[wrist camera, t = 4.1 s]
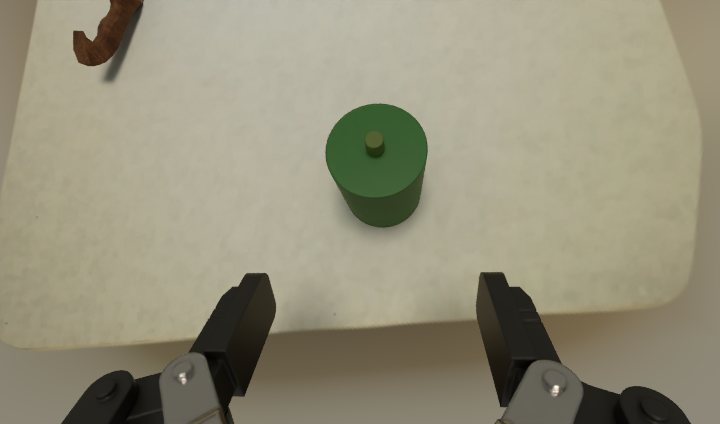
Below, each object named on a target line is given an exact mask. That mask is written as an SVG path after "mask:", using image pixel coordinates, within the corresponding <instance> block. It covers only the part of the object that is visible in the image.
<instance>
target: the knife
mask: <svg viewBox="0 0 720 424" xmlns="http://www.w3.org/2000/svg"><path fill="white" fill-rule="evenodd" d="M142 1H143V0H110V3H111V7H110V10H109V12H108V14H107V16H106V17H104V18H103V19H102V20H101V21H100V24H99V26H98V33H97V37H96V38H95V39H94V40H93V42H92V41H91V40H89V39H88V38H86V36H85V33H84V31H73V49H74V52H75V55H76V57H77V60H78V62H79V63H81V64H84V65H87V66H96V65H100V64H102V63H105V62H107V61H108V60H109V59H110V58H111V57H112V56H113V55H114V53H115V51H116V50H117V48H118V47H119V45H120V42H121V40H122V38H123V35H124V33H125V31H126V28H127V26H128V23H129V21H130V19H131V17H132V15H133V13H134V12H135V11H136V10H137V9H138V8H139V7H140V6H141V5H142V4H143V3H142Z"/></svg>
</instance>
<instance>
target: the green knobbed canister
mask: <svg viewBox="0 0 720 424" xmlns="http://www.w3.org/2000/svg"><path fill="white" fill-rule="evenodd" d="M427 152H428V146H427V139H426V136H425V133H424V131H423V129H422V127H421V126H420V124H419V123H418V121H417V120H416V119H415V118H414V117H413V116H412V115H410V114H409V113H408V112H406V111H405V110H403V109H401V108H398V107H395V106H392V105H388V104H370V105H365V106H361V107H359V108H356V109H354V110H352V111H350V112H349V113H347V114H346V115H345V116H343V117H342V118H341V119H340V120H339V121H338V122H337V123H336V125H335V126H334V128H333V129H332V131H331V133H330V135H329V137H328V140H327V144H326V162H327V166H328V169H329V171H330V173H331V175H332V177H333V179H334V180H335V182H336V184H337V186H338V188H339V189H340V191H341V193H342V195H343V196H344V198H345V200H346V202H347V204H348V205H349V207H350V209H351V211H352V212H353V213H354V215H355V216H356V217H357V218H358V219H360V220H361V221H363V222H364V223H366V224H369V225H372V226H376V227H390V226H394V225H397V224H399V223H401V222H403V221H404V220H406V219H407V218H408V217H409V216H410V215H411V214H412V213H413V212H414V210H415V209H416V207H417V205H418V203H419V199H420V194H421V189H422V183H423V177H424V171H425V165H426V159H427Z"/></svg>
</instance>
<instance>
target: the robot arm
mask: <svg viewBox="0 0 720 424" xmlns="http://www.w3.org/2000/svg"><path fill="white" fill-rule="evenodd" d="M275 313H276V302H275V298H274V294H273V291H272V287H271V284H270V280H269V277H268V275H267V274H266V273H247V274H245V276H244V277H243V279H242V281H241V283H240V284H239V286H238V287H232V288H231V289H230V290H228V291H227V292H226V293H225V294H224V295H223V296H222V297H221V299H220V300H219V302H218V304H217V306H216V309H214V311H213V312H212V314H211V316H210V319H208V321H207V322H206V324H205V326H204V327H203V329H202V331H201V332H200V334H199V336H198V338H197V339H196V341H195V343H194V344H193V346H192V348H191V349H190V351H189V353H187V354H184V355H181V356H179V357H177V358H176V359H174V360H173V361H171V362H170V363H169V364H168V365H167V366H166V367H165V369H164V370H163V372H161V373H158V374H154V375H150V376H146V377H143V378H139V379H134V378H133V376H132V375H131V374H130V373H129V372H128V371H123V370H120V371H115V372H111V373H109V374H106V375H104V376H103V377H101V378H99V379H98V380H96V381H95V382H94V383H93V384H91V386H90V387H89V388H88V389H87V390H86V391H85V392H84V394H83V395H82V396H81V398H80V399H79V400H78V402H77V403H76V404H75V406H74V407H73V408H72V410H71V411H70V412H69V414H68V415H67V416H66V418H65V419H64V421H63V422H62V423H61V424H234V422H233V418H232V415H231V412H230V409H229V407H228V406H229V403H230V401H231V398H232V396H242V397H243V396H245V393H246V391H247V388H248V385H249V383H250V380H251V378H252V375H253V372H254V369H255V367H256V365H257V362H258V359H259V357H260V354H261V351H262V349H263V346H264V344H265V341H266V338H267V336H268V333H269V331H270V328H271V326H272V323H273V320H274V318H275ZM476 313H477V320H478V324H479V327H480V331H481V335H482V339H483V342H484V346H485V350H486V354H487V358H488V361H489V365H490V369H491V372H492V376H493V380H494V384H495V388H496V391H497V395H498V399H499V403H500V407H507V408H506V410H505V412H504V414H503V416H502V418H501V419H500V420H499V419H498V420H497V421H496V422H495V424H691V423H690V422H689V420H688V419H687V417H686V416H685V414H684V413H683V411H682V410H681V409H680V408H679V407H678V406H677V405H676V404H675V403H674V402H673V401H672V400H670V399H669V398H667V397H666V396H664V395H663V394H661V393H659V392H657V391H655V390H652V389H649V388H646V387H640V386H633V387H628V388H626V389H625V390H623V391H622V393H621V395H620V394H616V393H613V392H609V391H607V390H603V389H600V388H596V387H593V386H591V385H588V384H586V383H584V382H582V381H580V380H579V378H578V377H577V376H576V375H575V374H574V373H573V372H572V371H571V370H570V369H569V368H567V367H566V366H564V365H562V363H561V361H560V360H559V357H558V355H557V353H556V351H555V349H554V347H553V345H552V342H551V340H550V338H549V336H548V334H547V332H546V329H545V327H544V326H543V323H542V322H541V319H540V317H539V314H538V312H536V308H535V306H534V304H533V302H532V299H531V297H530V296H528V295H527V294H526V293H525V292H524V291H523V290H522V289H521V288H520V287H509V285H508V283H507V280H506V278H505V275H504V274H503V273H502V272H481V273H480V277H479V285H478V293H477V301H476Z"/></svg>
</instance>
